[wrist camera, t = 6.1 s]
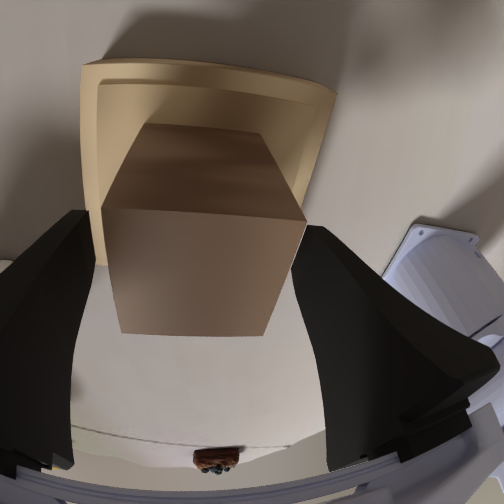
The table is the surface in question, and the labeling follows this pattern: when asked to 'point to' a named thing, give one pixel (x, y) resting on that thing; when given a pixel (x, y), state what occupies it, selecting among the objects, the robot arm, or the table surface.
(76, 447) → the table surface
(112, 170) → the oak base
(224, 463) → the pastry
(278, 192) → the walnut block
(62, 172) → the table surface
